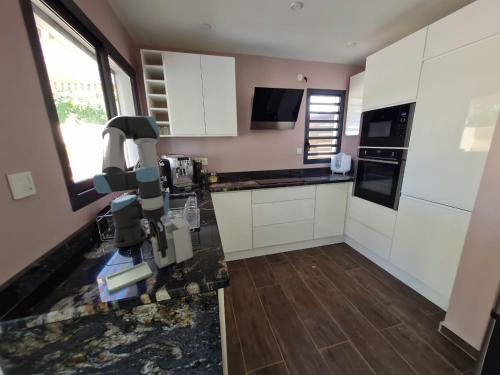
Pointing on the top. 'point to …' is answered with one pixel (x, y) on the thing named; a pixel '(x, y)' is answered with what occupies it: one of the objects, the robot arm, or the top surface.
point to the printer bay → (180, 238)
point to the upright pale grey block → (170, 250)
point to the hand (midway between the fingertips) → (161, 260)
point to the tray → (127, 277)
